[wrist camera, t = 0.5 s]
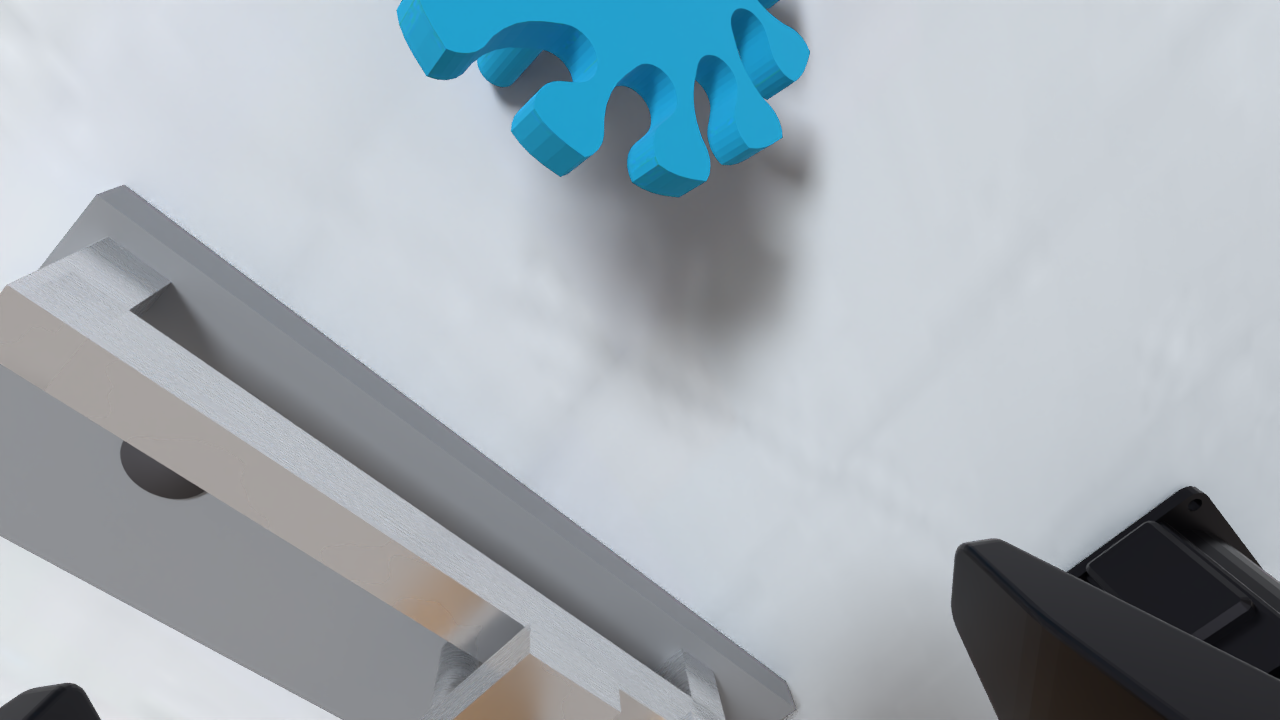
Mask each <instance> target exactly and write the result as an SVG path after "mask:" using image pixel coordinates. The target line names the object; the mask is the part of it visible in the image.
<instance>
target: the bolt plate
mask: <svg viewBox="0 0 1280 720" xmlns="http://www.w3.org/2000/svg"><path fill="white" fill-rule="evenodd" d="M107 237H109V238H111V239H112V240H114V241H115V242H116V243H118V244H119V245H121V246H122V247H123V248H125V249H126V250H128V251H129V252H130V253H132V254H133V255H134V256H136V257H137V258H139V259H140V260H141V261H143V262H144V263H146V264H147V265H148V266H150V267H151V268H153V269H154V270H155V271H157V272H158V273H160V274H161V275H162V276H164V277H165V278H166V279H168V280H169V281H171V283H170V284H169V285H168V286H167V288H166V289H165V290H164V291H163V292H162V294H161V295H160V296H159V297H158V298H157V300H156V301H155V302H154V303H153V304H152V306H151V307H150V308H149V309H148V310H147V312H146V313H145V314H144V315H143V316H142V318H141V319H142V320H144V321H145V322H147V323H148V324H150V325H151V326H153V327H154V328H155V329H157V330H158V331H160V332H161V333H163V334H164V335H166V336H167V337H168V338H170V339H171V340H173V341H174V342H176V343H177V344H179V345H180V346H182V347H183V348H184V349H186V350H187V351H189V352H190V353H192V354H193V355H195V356H196V357H198V358H199V359H200V360H202V361H203V362H205V363H206V364H208V365H209V366H211V367H212V368H214V369H215V370H216V371H218V372H219V373H221V374H222V375H224V376H225V377H227V378H228V379H230V380H231V381H232V382H234V383H235V384H237V385H238V386H240V387H241V388H243V389H244V390H245V391H247V392H248V393H250V394H251V395H253V396H254V397H256V398H257V399H259V400H260V401H261V402H263V403H264V404H266V405H267V406H269V407H270V408H272V409H273V410H275V411H276V412H277V413H279V414H280V415H282V416H283V417H285V418H286V419H288V420H289V421H291V422H292V423H293V424H295V425H296V426H298V427H299V428H301V429H302V430H304V431H305V432H307V433H308V434H309V435H311V436H312V437H314V438H315V439H317V440H318V441H320V442H321V443H322V444H324V445H325V446H327V447H328V448H330V449H331V450H333V451H334V452H336V453H337V454H338V455H340V456H341V457H343V458H344V459H346V460H347V461H349V462H350V463H352V464H353V465H354V466H356V467H357V468H359V469H360V470H362V471H363V472H365V473H366V474H368V475H369V476H370V477H372V478H373V479H375V480H376V481H378V482H379V483H381V484H382V485H384V486H385V487H386V488H388V489H389V490H391V491H392V492H394V493H395V494H397V495H398V496H400V497H401V498H402V499H404V500H405V501H407V502H408V503H410V504H411V505H413V506H414V507H415V508H417V509H418V510H420V511H421V512H423V513H424V514H426V515H427V516H429V517H430V518H431V519H433V520H434V521H436V522H437V523H439V524H440V525H442V526H443V527H445V528H446V529H447V530H449V531H450V532H452V533H453V534H455V535H456V536H458V537H459V538H461V539H462V540H463V541H465V542H466V543H468V544H469V545H471V546H472V547H474V548H475V549H477V550H478V551H479V552H481V553H482V554H484V555H485V556H487V557H488V558H490V559H491V560H492V561H494V562H495V563H497V564H498V565H500V566H501V567H503V568H504V569H506V570H507V571H508V572H510V573H511V574H513V575H514V576H516V577H517V578H519V579H520V580H522V581H523V582H524V583H526V584H527V585H529V586H530V587H532V588H533V589H535V590H536V591H538V592H539V593H540V594H542V595H543V596H545V597H546V598H548V599H549V600H551V601H552V602H554V603H555V604H556V605H558V606H559V607H561V608H562V609H564V610H565V611H567V612H568V613H569V614H571V615H572V616H574V617H575V618H577V619H578V620H580V621H581V622H583V623H584V624H585V625H587V626H588V627H590V628H591V629H593V630H594V631H596V632H597V633H599V634H600V635H601V636H603V637H604V638H606V639H607V640H609V641H610V642H612V643H613V644H615V645H616V646H617V647H619V648H620V649H622V650H623V651H625V652H626V653H628V654H629V655H631V656H632V657H633V658H635V659H636V660H638V661H639V662H641V663H642V664H644V665H645V666H646V667H648V668H649V669H651V670H652V671H655V670H656V669H657V668H658V667H659V666H661V665H662V664H663V663H664V662H666V661H667V660H668V659H669V658H671V657H672V656H673V655H674V654H676V653H677V652H678V651H679V650H680V649H683V650H684V651H686V652H687V653H688V654H690V655H691V656H693V657H694V658H695V659H697V660H698V661H700V662H701V663H702V664H704V665H705V666H706V667H708V668H709V669H711V670H712V671H713V672H714V676H715V680H716V684H717V688H718V692H719V696H720V700H721V704H722V708H723V712H724V716H725V720H783V719H784V718H785V717H786V716H788V715H789V714H790V713H792V712H793V711H794V710H796V707H795V704H794V702H793V699H792V696H791V693H790V691H789V688H788V685H787V682H785V681H784V680H783V679H782V678H780V677H779V676H778V675H776V674H775V673H774V672H772V671H771V670H770V669H768V668H767V667H766V666H764V665H763V664H762V663H760V662H759V661H758V660H756V659H755V658H754V657H752V656H751V655H750V654H748V653H747V652H746V651H744V650H743V649H742V648H740V647H739V646H738V645H736V644H735V643H734V642H732V641H731V640H730V639H728V638H727V637H726V636H724V635H723V634H722V633H720V632H719V631H718V630H716V629H715V628H714V627H712V626H711V625H710V624H708V623H707V622H706V621H704V620H703V619H702V618H700V617H699V616H698V615H696V614H695V613H694V612H692V611H691V610H690V609H688V608H687V607H686V606H684V605H683V604H682V603H680V602H679V601H678V600H676V599H675V598H674V597H672V596H671V595H670V594H668V593H667V592H666V591H664V590H663V589H662V588H660V587H659V586H658V585H656V584H655V583H654V582H652V581H651V580H650V579H648V578H647V577H646V576H644V575H643V574H642V573H640V572H639V571H638V570H636V569H635V568H634V567H632V566H631V565H630V564H628V563H627V562H626V561H624V560H623V559H622V558H620V557H619V556H618V555H616V554H615V553H614V552H612V551H611V550H610V549H608V548H607V547H606V546H604V545H603V544H602V543H600V542H599V541H598V540H596V539H595V538H594V537H592V536H591V535H590V534H588V533H587V532H586V531H584V530H583V529H582V528H580V527H579V526H578V525H576V524H575V523H574V522H572V521H571V520H570V519H568V518H567V517H566V516H564V515H563V514H562V513H560V512H559V511H558V510H556V509H555V508H554V507H552V506H551V505H550V504H548V503H547V502H546V501H544V500H543V499H542V498H540V497H539V496H538V495H536V494H535V493H534V492H532V491H531V490H530V489H528V488H527V487H526V486H524V485H523V484H522V483H520V482H519V481H518V480H516V479H515V478H514V477H513V476H511V475H510V474H509V473H507V472H506V471H505V470H503V469H502V468H501V467H499V466H498V465H497V464H495V463H494V462H493V461H491V460H490V459H489V458H487V457H486V456H485V455H483V454H482V453H481V452H479V451H478V450H477V449H475V448H474V447H473V446H471V445H470V444H469V443H467V442H466V441H465V440H463V439H462V438H461V437H459V436H458V435H457V434H455V433H454V432H453V431H451V430H450V429H449V428H447V427H446V426H445V425H443V424H442V423H441V422H439V421H438V420H437V419H435V418H434V417H433V416H431V415H430V414H429V413H427V412H426V411H425V410H423V409H422V408H421V407H419V406H418V405H417V404H415V403H414V402H413V401H411V400H410V399H409V398H407V397H406V396H405V395H403V394H402V393H401V392H399V391H398V390H397V389H395V388H394V387H393V386H391V385H390V384H389V383H387V382H386V381H385V380H383V379H382V378H381V377H379V376H378V375H377V374H375V373H374V372H373V371H371V370H370V369H369V368H367V367H366V366H365V365H363V364H362V363H361V362H359V361H358V360H357V359H355V358H354V357H353V356H351V355H350V354H349V353H347V352H346V351H345V350H343V349H342V348H341V347H339V346H338V345H337V344H335V343H334V342H333V341H331V340H330V339H329V338H327V337H326V336H325V335H323V334H322V333H321V332H319V331H318V330H317V329H315V328H314V327H313V326H311V325H310V324H309V323H307V322H306V321H305V320H303V319H302V318H301V317H299V316H298V315H297V314H295V313H294V312H293V311H291V310H290V309H289V308H287V307H286V306H285V305H283V304H282V303H281V302H279V301H278V300H277V299H275V298H274V297H273V296H271V295H270V294H269V293H267V292H266V291H265V290H263V289H262V288H261V287H259V286H258V285H257V284H255V283H254V282H253V281H251V280H250V279H249V278H247V277H246V276H245V275H243V274H242V273H241V272H240V271H238V270H237V269H236V268H234V267H233V266H232V265H230V264H229V263H228V262H226V261H225V260H224V259H222V258H221V257H220V256H218V255H217V254H216V253H214V252H213V251H212V250H210V249H209V248H208V247H206V246H205V245H204V244H202V243H201V242H200V241H198V240H197V239H196V238H194V237H193V236H192V235H190V234H189V233H188V232H186V231H185V230H184V229H182V228H181V227H180V226H178V225H177V224H176V223H174V222H173V221H172V220H170V219H169V218H168V217H166V216H165V215H164V214H162V213H161V212H160V211H158V210H157V209H156V208H154V207H153V206H152V205H150V204H149V203H148V202H146V201H145V200H144V199H142V198H141V197H140V196H138V195H137V194H136V193H134V192H133V191H132V190H130V189H129V188H128V187H126V186H125V185H122V186H119V187H116V188H114V189H111V190H108V191H105V192H103V193H100V194H97V195H96V196H95V198H94V199H93V200H92V201H91V203H90V204H89V205H88V207H87V208H86V209H85V210H84V212H83V213H82V214H81V216H80V217H79V218H78V219H77V221H76V222H75V223H74V225H73V226H72V227H71V228H70V230H69V231H68V232H67V234H66V235H65V236H64V237H63V239H62V240H61V241H60V243H59V244H58V245H57V246H56V248H55V249H54V250H53V252H52V253H51V254H50V255H49V257H48V258H47V259H46V261H45V262H44V263H43V264H42V266H41V267H40V268H39V269H42V268H44V267H46V266H48V265H50V264H52V263H54V262H56V261H59V260H61V259H63V258H65V257H67V256H69V255H71V254H73V253H76V252H78V251H80V250H82V249H84V248H86V247H88V246H90V245H93V244H95V243H97V242H99V241H101V240H103V239H105V238H107ZM0 536H1V537H3V538H5V539H7V540H9V541H11V542H13V543H14V544H16V545H18V546H20V547H22V548H24V549H26V550H27V551H29V552H31V553H33V554H35V555H37V556H39V557H41V558H42V559H44V560H46V561H48V562H50V563H52V564H54V565H55V566H57V567H59V568H61V569H63V570H65V571H67V572H68V573H70V574H72V575H74V576H76V577H78V578H80V579H82V580H83V581H85V582H87V583H89V584H91V585H93V586H95V587H96V588H98V589H100V590H102V591H104V592H106V593H108V594H109V595H111V596H113V597H115V598H117V599H119V600H121V601H122V602H124V603H126V604H128V605H130V606H132V607H134V608H136V609H137V610H139V611H141V612H143V613H145V614H147V615H149V616H150V617H152V618H154V619H156V620H158V621H160V622H162V623H163V624H165V625H167V626H169V627H171V628H173V629H175V630H177V631H178V632H180V633H182V634H184V635H186V636H188V637H190V638H191V639H193V640H195V641H197V642H199V643H201V644H203V645H204V646H206V647H208V648H210V649H212V650H214V651H216V652H218V653H219V654H221V655H223V656H225V657H227V658H229V659H231V660H232V661H234V662H236V663H238V664H240V665H242V666H244V667H245V668H247V669H249V670H251V671H253V672H255V673H257V674H258V675H260V676H262V677H264V678H266V679H268V680H270V681H272V682H273V683H275V684H277V685H279V686H281V687H283V688H285V689H286V690H288V691H290V692H292V693H294V694H296V695H298V696H299V697H301V698H303V699H305V700H307V701H309V702H311V703H313V704H314V705H316V706H318V707H320V708H322V709H324V710H326V711H327V712H329V713H331V714H333V715H335V716H337V717H339V718H340V719H342V720H419V719H420V718H421V717H423V716H424V715H425V714H426V713H427V712H428V711H429V710H430V708H431V703H432V697H433V691H434V686H435V680H436V674H437V669H438V663H439V658H440V652H441V649H442V647H443V645H444V644H445V643H447V642H448V641H447V640H445V639H443V638H442V637H440V636H439V635H437V634H435V633H434V632H432V631H430V630H429V629H427V628H426V627H424V626H422V625H421V624H419V623H418V622H416V621H414V620H413V619H411V618H409V617H408V616H406V615H405V614H403V613H401V612H400V611H398V610H397V609H395V608H393V607H392V606H390V605H389V604H387V603H385V602H384V601H382V600H380V599H379V598H377V597H376V596H374V595H372V594H371V593H369V592H368V591H366V590H364V589H363V588H361V587H359V586H358V585H356V584H355V583H353V582H351V581H350V580H348V579H347V578H345V577H343V576H342V575H340V574H338V573H337V572H335V571H334V570H332V569H330V568H329V567H327V566H326V565H324V564H322V563H321V562H319V561H317V560H316V559H314V558H313V557H311V556H309V555H308V554H306V553H305V552H303V551H301V550H300V549H298V548H297V547H295V546H293V545H292V544H290V543H288V542H287V541H285V540H284V539H282V538H280V537H279V536H277V535H276V534H274V533H272V532H271V531H269V530H267V529H266V528H264V527H263V526H261V525H259V524H258V523H256V522H255V521H253V520H251V519H250V518H248V517H246V516H245V515H243V514H242V513H240V512H238V511H237V510H235V509H234V508H232V507H230V506H229V505H227V504H226V503H224V502H222V501H221V500H219V499H217V498H216V497H214V496H213V495H211V494H209V493H208V492H206V491H205V490H203V489H201V488H200V487H198V486H196V485H195V484H193V483H192V482H190V481H188V480H187V479H185V478H184V477H182V476H180V475H179V474H177V473H175V472H174V471H172V470H171V469H169V468H167V467H166V466H164V465H163V464H161V463H159V462H158V461H156V460H155V459H153V458H151V457H150V456H148V455H146V454H145V453H143V452H142V451H140V450H138V449H137V448H135V447H134V446H132V445H130V444H129V443H127V442H125V441H124V440H122V439H121V438H119V437H117V436H116V435H114V434H113V433H111V432H109V431H108V430H106V429H104V428H103V427H101V426H100V425H98V424H96V423H95V422H93V421H92V420H90V419H88V418H87V417H85V416H84V415H82V414H80V413H79V412H77V411H75V410H74V409H72V408H71V407H69V406H67V405H66V404H64V403H63V402H61V401H59V400H58V399H56V398H54V397H53V396H51V395H50V394H48V393H46V392H45V391H43V390H42V389H40V388H38V387H37V386H35V385H33V384H32V383H30V382H29V381H27V380H25V379H24V378H22V377H21V376H19V375H17V374H16V373H14V372H13V371H11V370H9V369H8V368H6V367H4V366H3V365H1V364H0ZM482 664H483V663H482V662H480V661H479V666H478V668H479V667H480V666H481V665H482Z"/></svg>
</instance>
